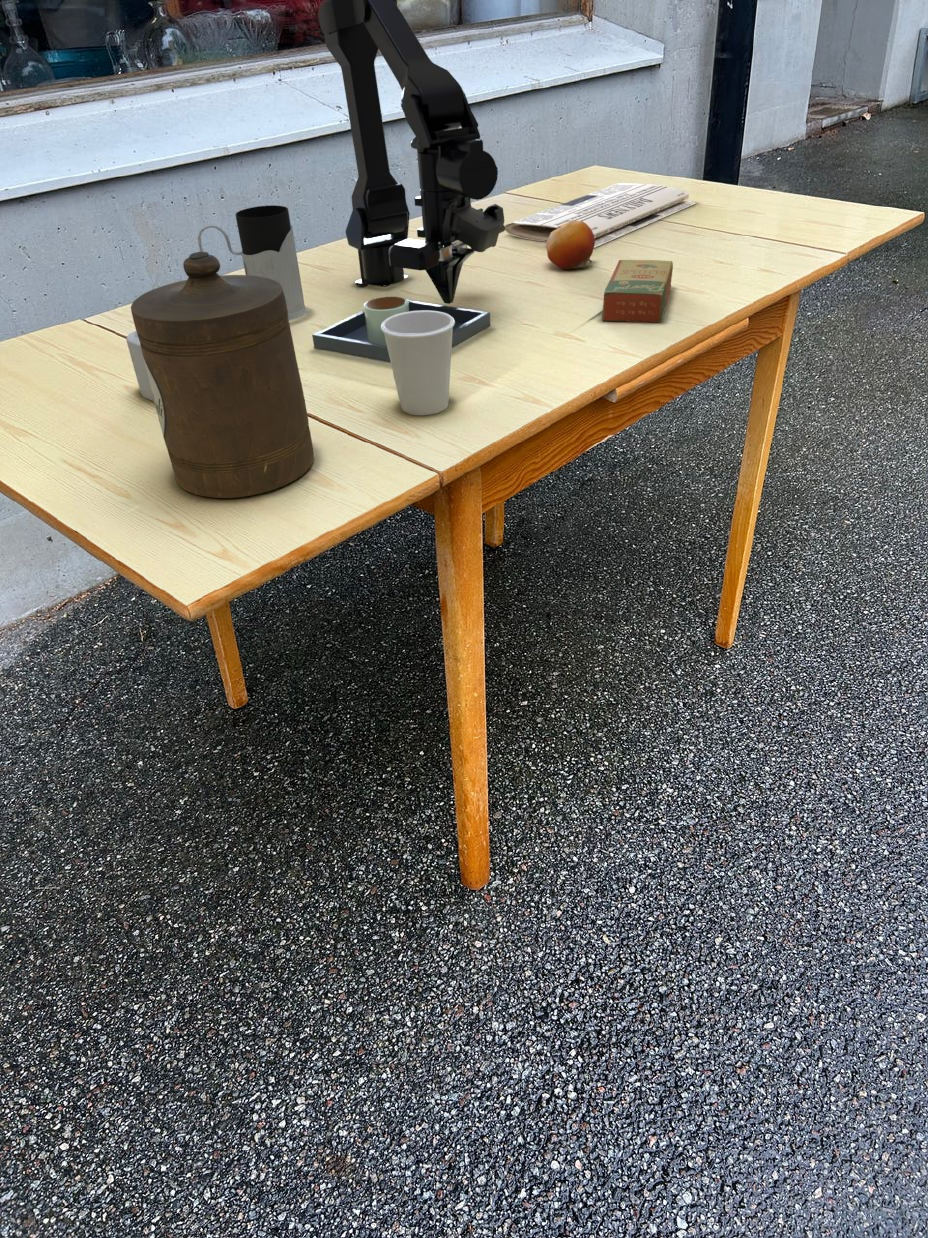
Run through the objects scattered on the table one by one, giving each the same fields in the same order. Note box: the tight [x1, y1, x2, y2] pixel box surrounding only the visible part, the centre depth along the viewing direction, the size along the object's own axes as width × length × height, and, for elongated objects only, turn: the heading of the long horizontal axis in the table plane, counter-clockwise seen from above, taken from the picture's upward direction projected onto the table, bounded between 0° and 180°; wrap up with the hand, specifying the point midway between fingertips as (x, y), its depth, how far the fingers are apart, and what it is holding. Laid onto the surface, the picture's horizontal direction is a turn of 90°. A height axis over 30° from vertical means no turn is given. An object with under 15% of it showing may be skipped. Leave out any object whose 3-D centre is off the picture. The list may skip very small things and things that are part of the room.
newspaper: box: [504, 182, 697, 249], centre depth 177 cm, size 37×19×3 cm, turn 140°
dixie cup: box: [381, 310, 455, 416], centre depth 107 cm, size 8×8×10 cm
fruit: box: [545, 221, 595, 271], centre depth 152 cm, size 8×8×8 cm
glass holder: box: [197, 204, 309, 322], centre depth 136 cm, size 9×14×15 cm, turn 94°
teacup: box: [363, 296, 410, 346], centre depth 125 cm, size 7×6×6 cm
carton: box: [601, 259, 674, 323], centre depth 135 cm, size 8×16×4 cm, turn 165°
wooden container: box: [130, 251, 315, 499], centre depth 93 cm, size 15×15×22 cm
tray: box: [311, 299, 492, 364], centre depth 128 cm, size 18×18×2 cm
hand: (448, 302), depth 135 cm, fingers closed
